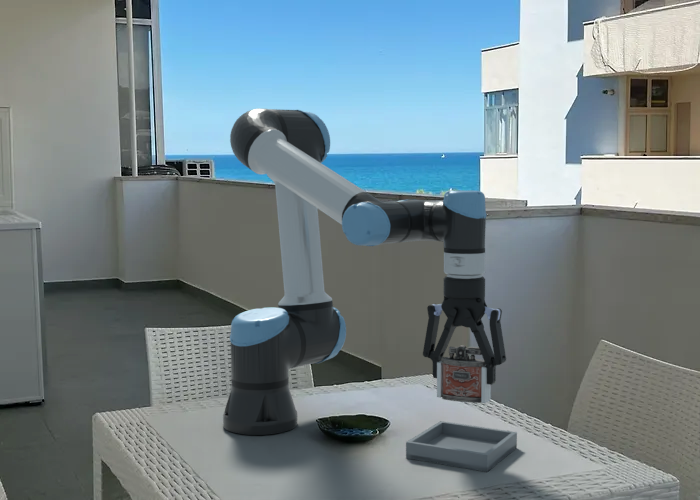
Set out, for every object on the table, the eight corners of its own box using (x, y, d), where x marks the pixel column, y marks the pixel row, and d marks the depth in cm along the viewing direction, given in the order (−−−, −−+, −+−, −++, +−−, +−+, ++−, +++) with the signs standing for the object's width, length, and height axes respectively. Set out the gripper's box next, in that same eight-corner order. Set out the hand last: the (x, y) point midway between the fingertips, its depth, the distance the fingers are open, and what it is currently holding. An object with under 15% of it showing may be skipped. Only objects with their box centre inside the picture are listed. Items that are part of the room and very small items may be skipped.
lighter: (439, 399, 171) (439, 346, 170) (444, 395, 174) (445, 342, 173) (482, 403, 168) (483, 349, 167) (487, 399, 171) (487, 345, 170)
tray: (406, 458, 169) (406, 442, 168) (440, 435, 182) (440, 421, 182) (487, 472, 161) (487, 455, 161) (516, 447, 175) (516, 432, 175)
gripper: (403, 274, 170) (403, 396, 172) (512, 281, 160) (511, 410, 162) (420, 270, 177) (420, 387, 179) (526, 276, 167) (524, 400, 169)
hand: (463, 398), depth 171 cm, fingers closed on lighter, 8 cm apart
